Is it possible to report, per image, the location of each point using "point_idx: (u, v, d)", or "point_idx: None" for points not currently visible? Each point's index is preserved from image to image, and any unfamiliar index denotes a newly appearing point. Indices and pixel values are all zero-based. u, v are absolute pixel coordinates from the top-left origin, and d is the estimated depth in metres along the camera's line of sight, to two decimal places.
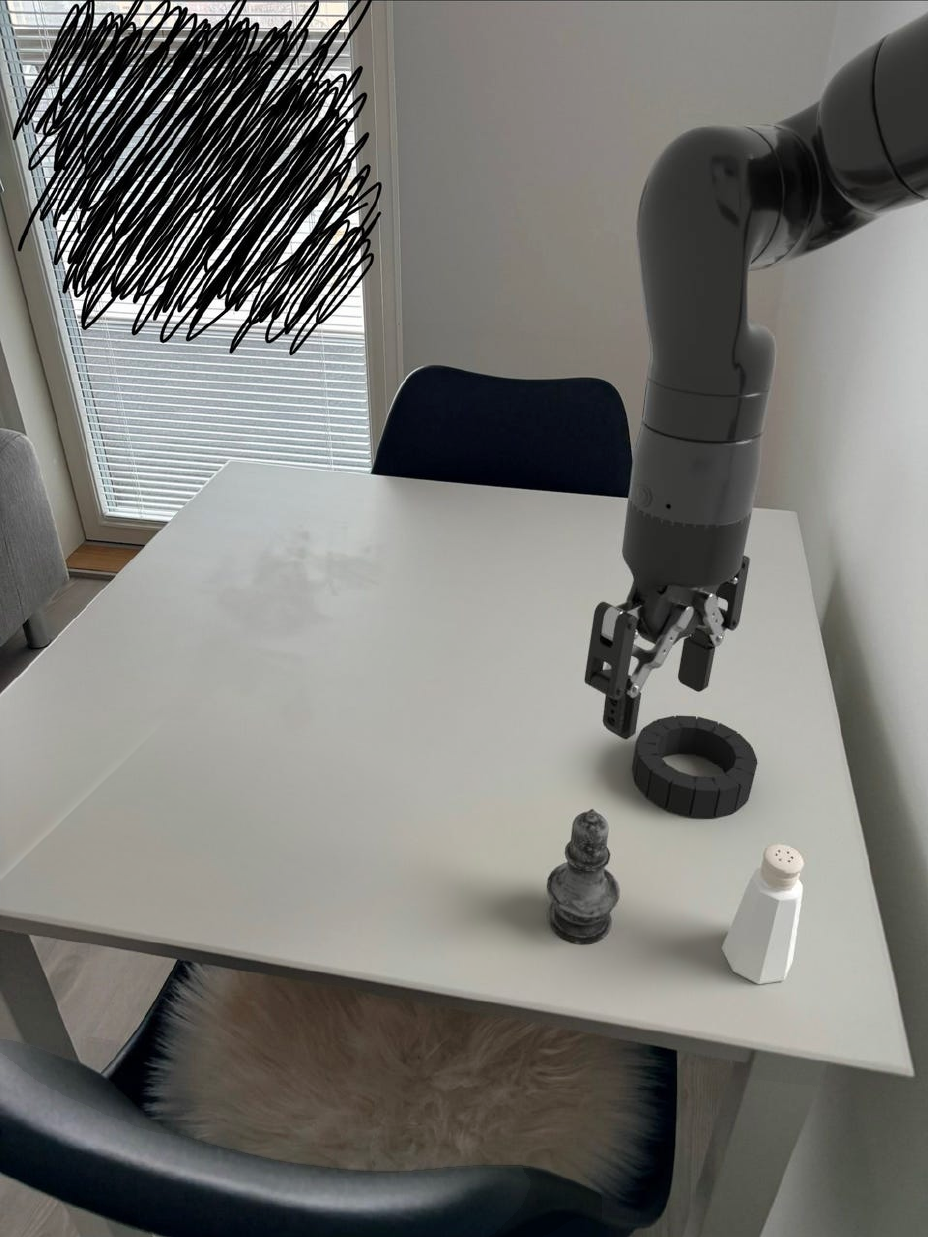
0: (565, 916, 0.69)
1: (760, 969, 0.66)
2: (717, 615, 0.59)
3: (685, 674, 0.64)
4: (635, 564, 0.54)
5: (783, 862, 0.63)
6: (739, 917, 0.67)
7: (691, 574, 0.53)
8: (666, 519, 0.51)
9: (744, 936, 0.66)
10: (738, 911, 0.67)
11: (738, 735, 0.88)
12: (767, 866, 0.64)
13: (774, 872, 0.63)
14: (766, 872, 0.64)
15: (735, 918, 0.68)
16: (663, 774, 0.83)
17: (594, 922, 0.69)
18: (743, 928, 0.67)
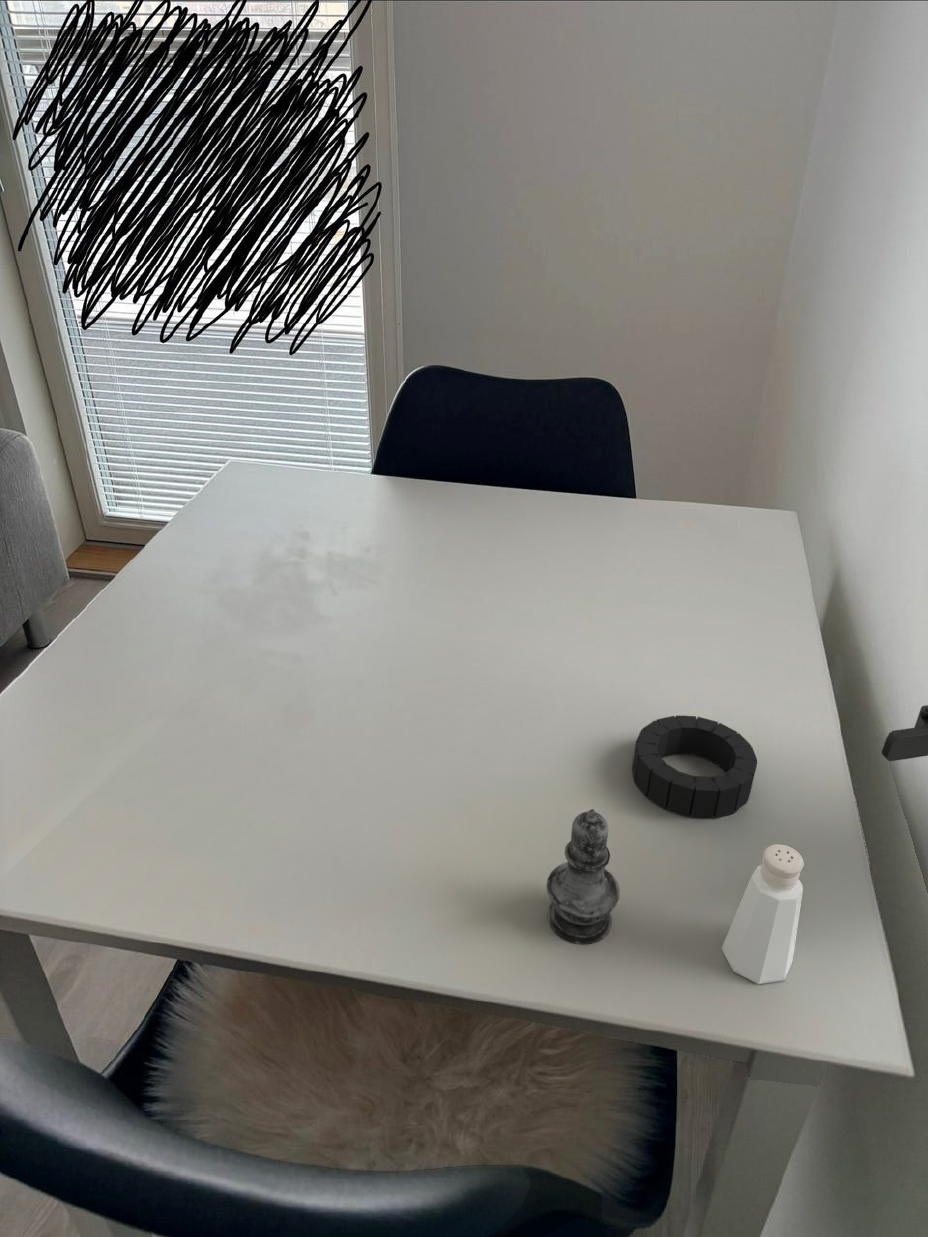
0: (565, 916, 0.69)
1: (760, 969, 0.66)
2: None
3: None
4: None
5: (783, 862, 0.63)
6: (739, 917, 0.67)
7: None
8: None
9: (744, 936, 0.66)
10: (738, 911, 0.67)
11: (738, 735, 0.88)
12: (767, 866, 0.64)
13: (774, 872, 0.63)
14: (766, 872, 0.64)
15: (735, 918, 0.68)
16: (663, 774, 0.83)
17: (594, 922, 0.69)
18: (743, 928, 0.67)
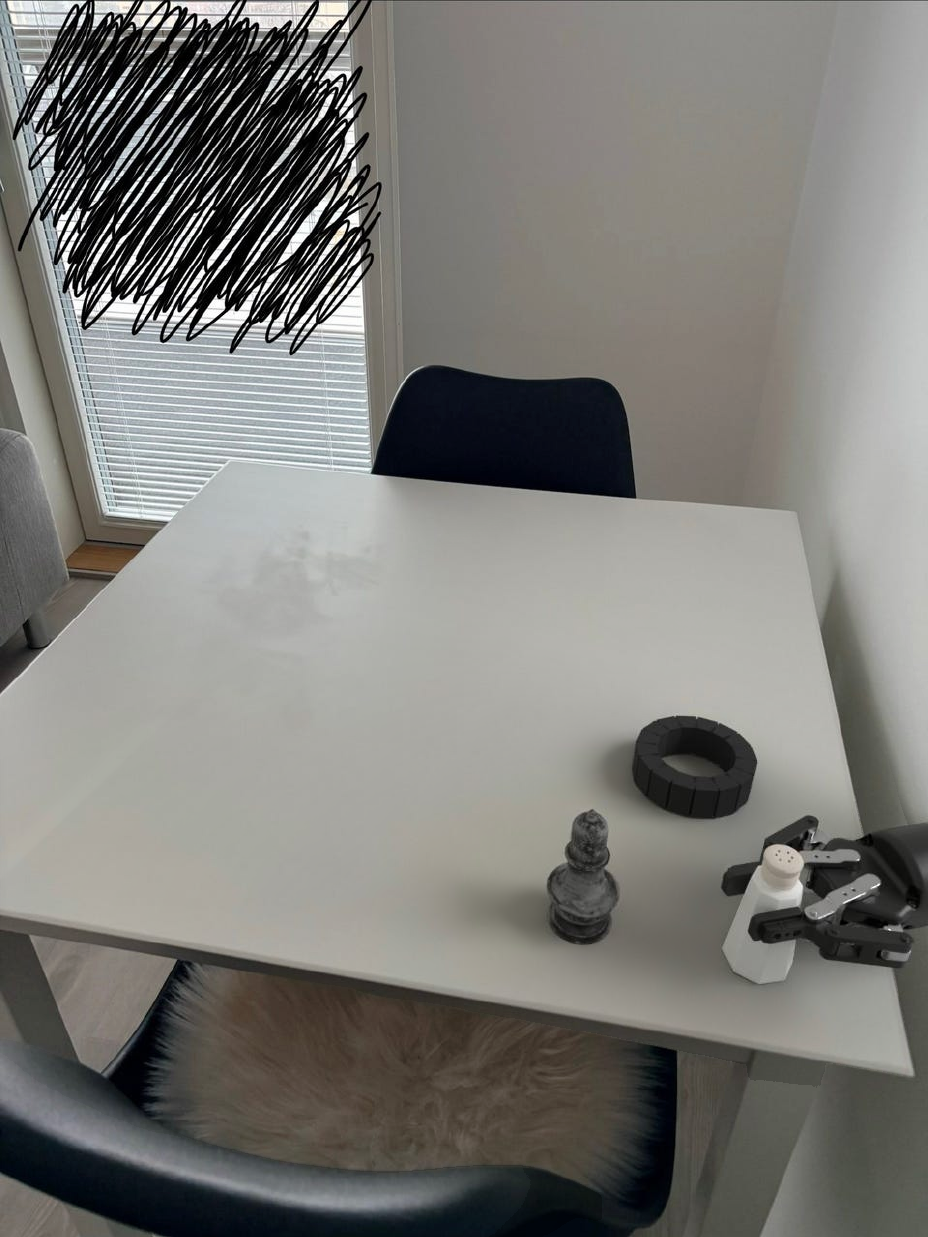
0: (565, 916, 0.69)
1: (760, 969, 0.66)
2: (851, 895, 0.64)
3: None
4: None
5: (783, 862, 0.63)
6: (739, 917, 0.67)
7: (885, 829, 0.69)
8: None
9: (744, 936, 0.66)
10: (738, 911, 0.67)
11: (738, 735, 0.88)
12: (767, 866, 0.64)
13: (774, 872, 0.63)
14: (766, 872, 0.64)
15: (735, 918, 0.68)
16: (663, 774, 0.83)
17: (594, 922, 0.69)
18: (743, 928, 0.66)
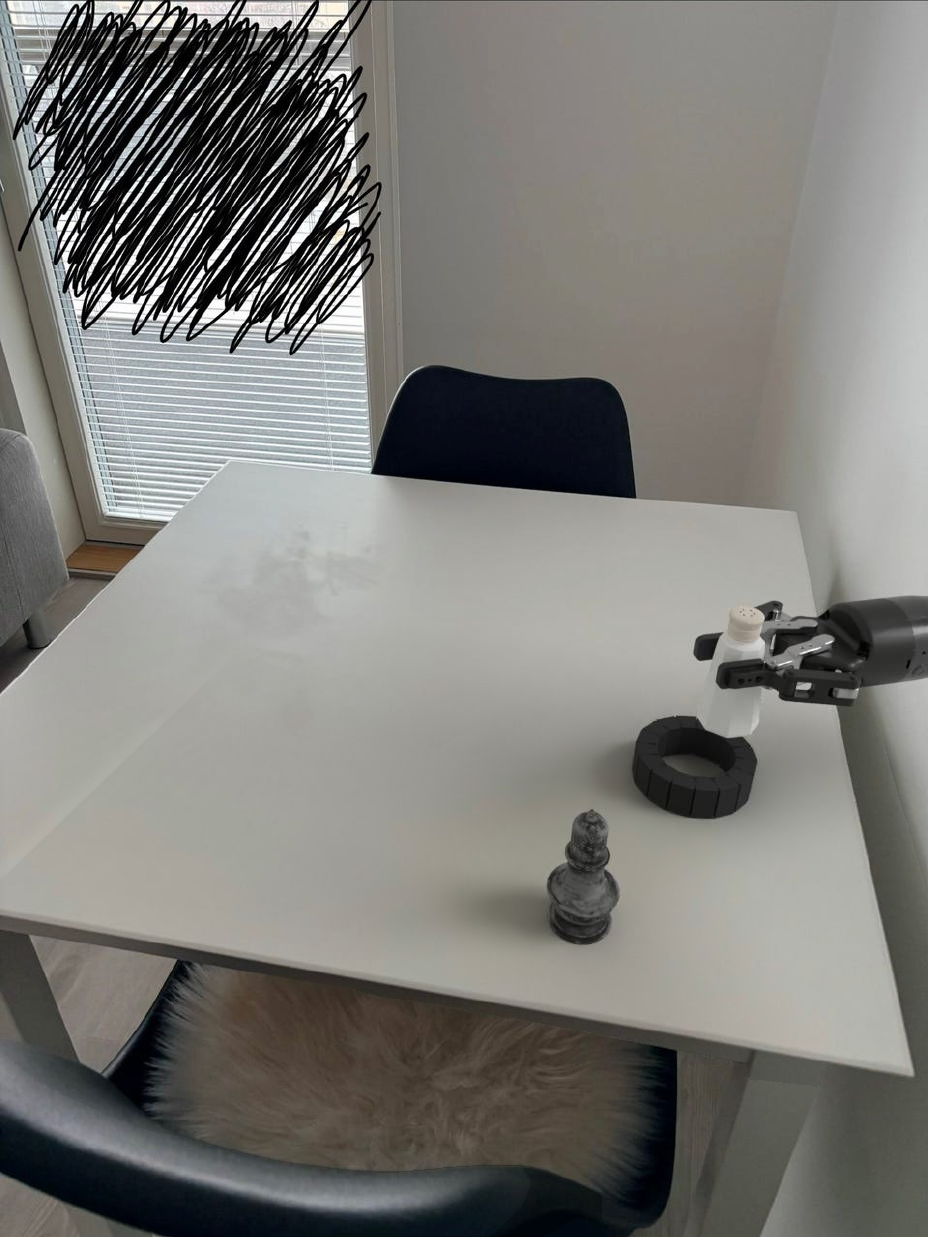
0: (565, 916, 0.69)
1: (728, 722, 0.74)
2: (807, 648, 0.72)
3: None
4: None
5: (746, 616, 0.71)
6: (709, 678, 0.75)
7: None
8: None
9: (713, 693, 0.74)
10: (709, 673, 0.75)
11: None
12: (732, 621, 0.72)
13: (738, 624, 0.71)
14: (732, 627, 0.72)
15: (706, 681, 0.76)
16: (663, 774, 0.83)
17: (594, 922, 0.69)
18: (713, 686, 0.75)
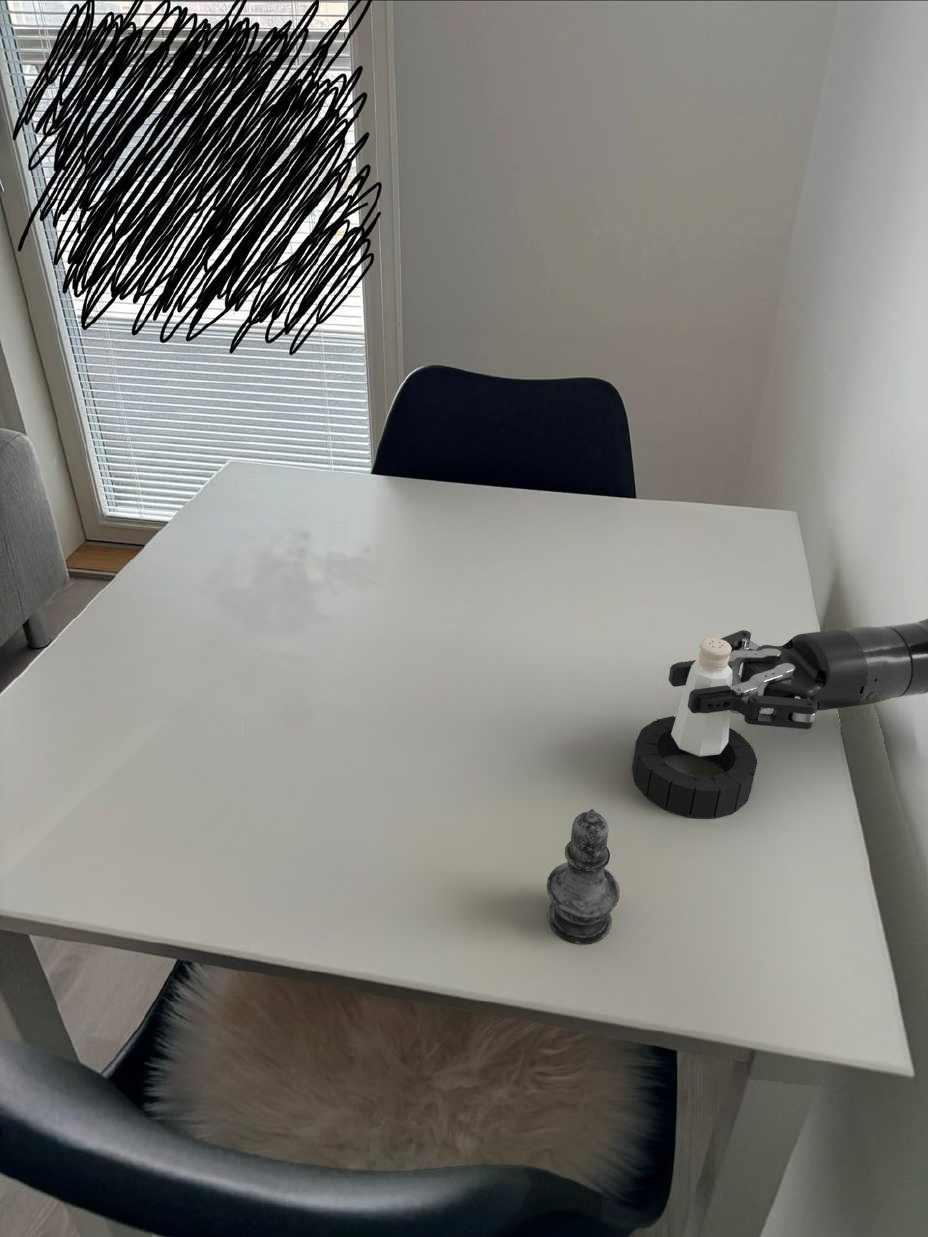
0: (565, 916, 0.69)
1: (700, 742, 0.82)
2: (770, 676, 0.80)
3: None
4: None
5: (715, 647, 0.79)
6: (683, 702, 0.83)
7: None
8: None
9: (686, 715, 0.82)
10: (682, 697, 0.83)
11: (738, 735, 0.88)
12: (702, 652, 0.79)
13: (708, 655, 0.79)
14: (702, 657, 0.80)
15: (680, 704, 0.84)
16: (663, 774, 0.83)
17: (594, 922, 0.69)
18: (686, 709, 0.82)
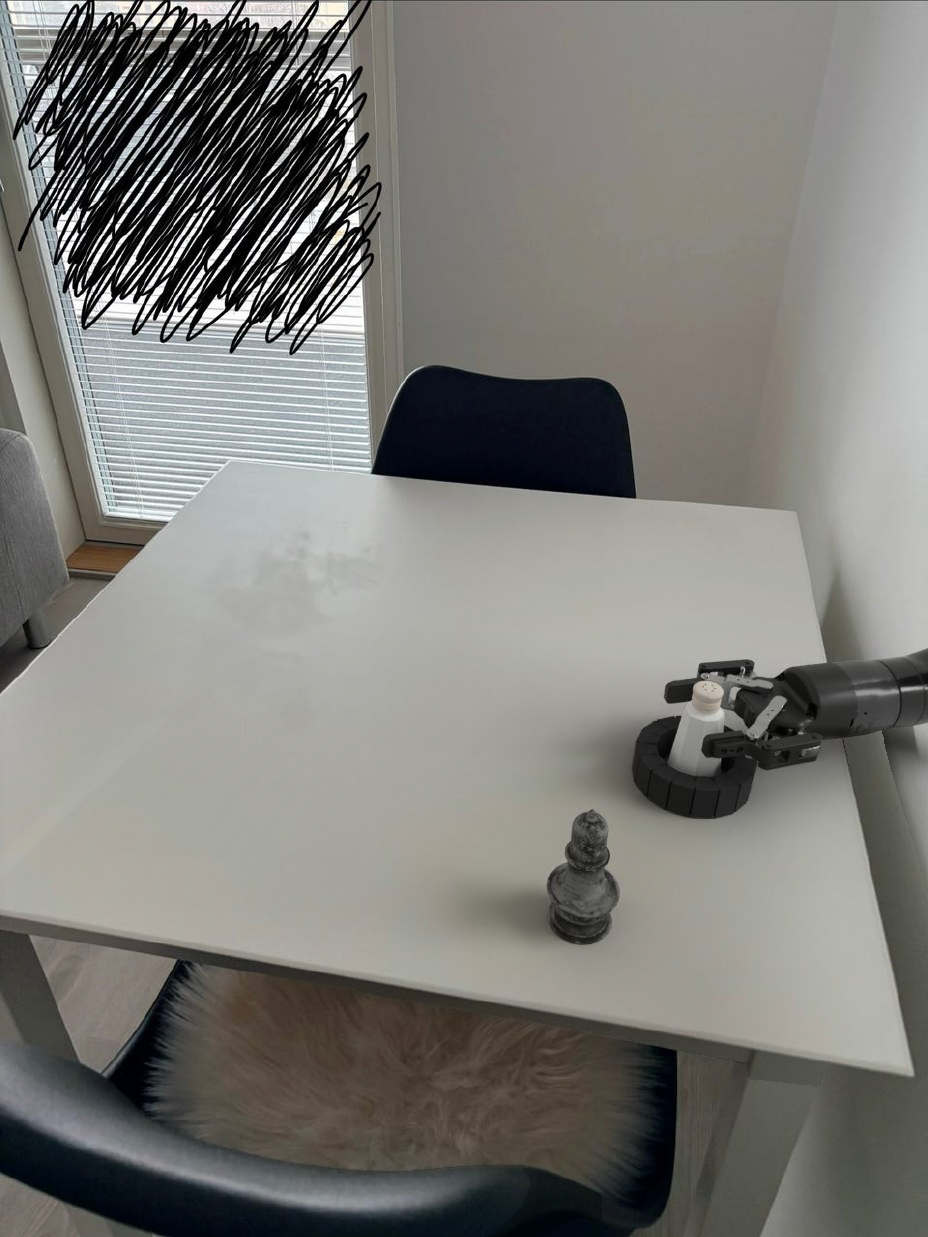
0: (565, 916, 0.69)
1: None
2: (772, 714, 0.81)
3: None
4: None
5: (707, 691, 0.82)
6: (676, 742, 0.85)
7: None
8: None
9: (679, 755, 0.85)
10: (676, 737, 0.86)
11: None
12: (696, 695, 0.82)
13: (701, 698, 0.81)
14: (695, 700, 0.82)
15: (674, 744, 0.86)
16: (663, 774, 0.83)
17: (594, 922, 0.69)
18: (679, 749, 0.85)
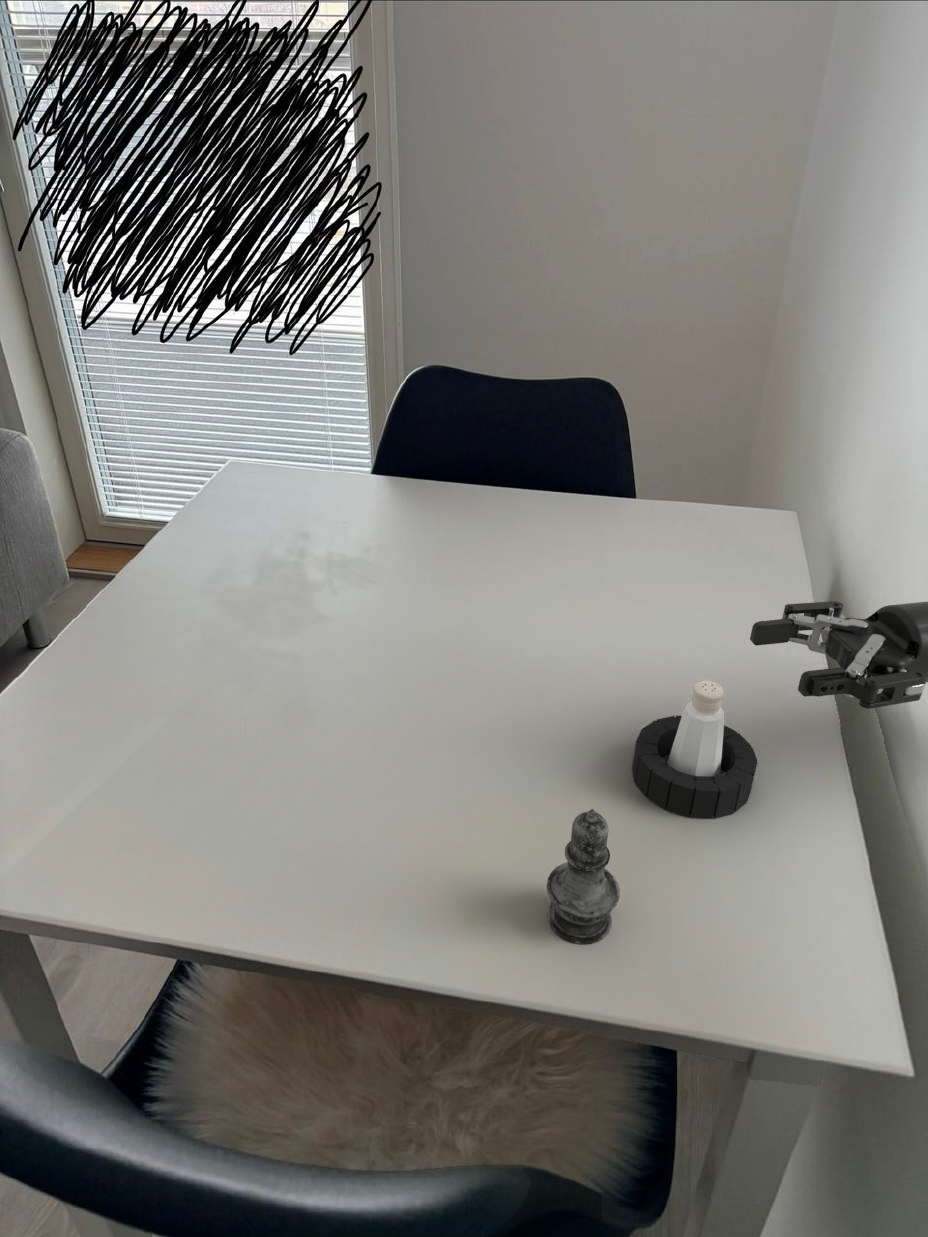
0: (565, 916, 0.69)
1: None
2: (872, 651, 0.77)
3: None
4: None
5: (707, 691, 0.82)
6: (676, 742, 0.85)
7: None
8: None
9: (679, 755, 0.85)
10: (676, 737, 0.86)
11: (738, 735, 0.88)
12: (696, 695, 0.82)
13: (701, 698, 0.81)
14: (695, 700, 0.82)
15: (674, 744, 0.86)
16: (663, 774, 0.83)
17: (594, 922, 0.69)
18: (679, 749, 0.85)
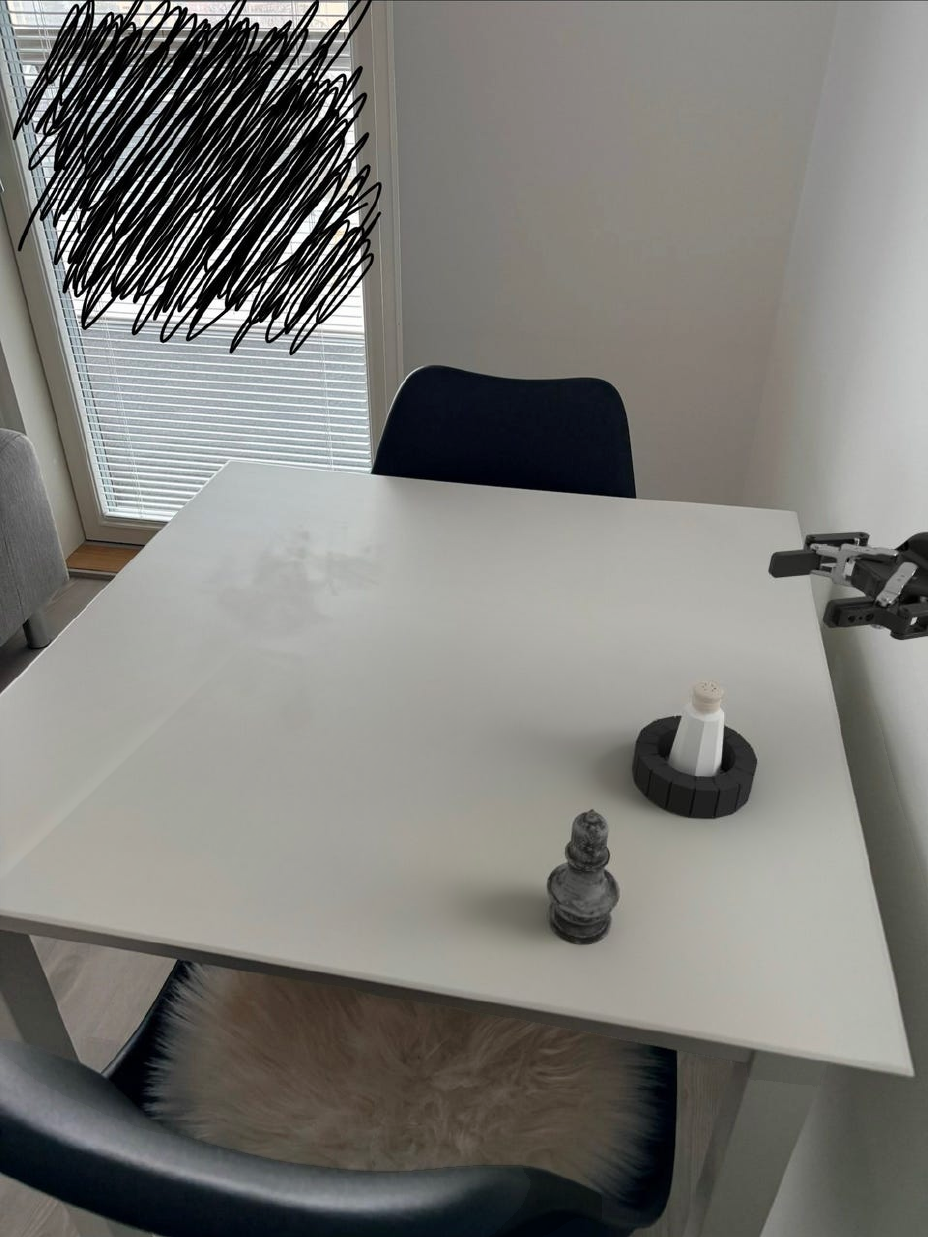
0: (565, 916, 0.69)
1: None
2: (903, 579, 0.70)
3: None
4: None
5: (707, 691, 0.82)
6: (676, 742, 0.85)
7: None
8: None
9: (679, 755, 0.85)
10: (676, 737, 0.86)
11: (738, 735, 0.88)
12: (696, 695, 0.82)
13: (701, 698, 0.81)
14: (695, 700, 0.82)
15: (674, 744, 0.86)
16: (663, 774, 0.83)
17: (594, 922, 0.69)
18: (679, 749, 0.85)
